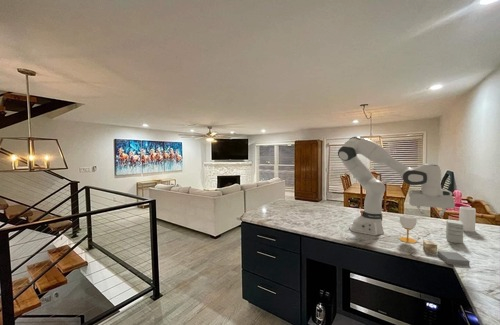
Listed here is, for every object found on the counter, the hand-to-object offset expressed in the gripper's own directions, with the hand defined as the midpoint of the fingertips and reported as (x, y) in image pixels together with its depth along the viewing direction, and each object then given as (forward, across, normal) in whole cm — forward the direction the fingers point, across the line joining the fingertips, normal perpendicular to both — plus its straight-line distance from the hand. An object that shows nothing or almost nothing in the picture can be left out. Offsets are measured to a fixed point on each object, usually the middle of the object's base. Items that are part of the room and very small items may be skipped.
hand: (430, 214), depth 123 cm
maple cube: (+22, -1, -1) cm, 22 cm away
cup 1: (+22, -10, +10) cm, 26 cm away
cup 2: (+22, +32, +50) cm, 63 cm away
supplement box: (+22, +17, +22) cm, 35 cm away
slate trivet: (+22, +7, -10) cm, 25 cm away
